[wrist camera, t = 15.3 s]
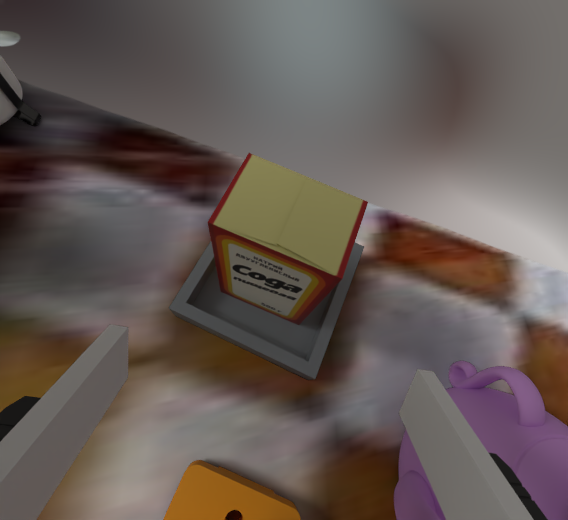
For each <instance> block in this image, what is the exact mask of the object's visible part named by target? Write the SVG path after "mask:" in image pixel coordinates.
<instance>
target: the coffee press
mask: <svg viewBox="0 0 568 520" xmlns="http://www.w3.org/2000/svg"><path fill="white" fill-rule="evenodd" d="M22 96H23V93H22V87H21V85H20V82H19V81H18V79H17V78H16V76H15V75H14V73H13V72H12V70H11V69H10V67H9V66H8V65H7V63H6V62H5V60H4V59H3V57H2V56H1V55H0V125H2V124H3V123H5V122H6V121H8V120H9V119H10V118H11V117H16V118H18V119H20V120H22V121H24V122H26V123H28V124H29V125H32V126H37V125H38V123H39V121H40V120H41V118H42V117H41V115H40V114H39V113H38V112H36V111H35V110H33V109H32V108H31V107H29V106H28V105H26V104H25V103H24V102H23V101H22Z"/></svg>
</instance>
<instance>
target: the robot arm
mask: <svg viewBox="0 0 568 520" xmlns="http://www.w3.org/2000/svg"><path fill="white" fill-rule="evenodd" d="M127 378H128V327H124V326H117V325H111V324H110V325H109V326H108V327H107V328H106V329H105V330H104V331H103V332H102V333H101V335H100V336H99V337H98V338H97V339H96V340H95V341H94V342H93V343H92V344H91V345H90V346H89V347H88V348H87V350H86V351H85V352H84V353H83V354H82V355H81V356H80V357H79V358H78V359H77V360H76V361H75V362H74V363H73V365H72V366H71V367H70V368H69V369H68V370H67V371H66V372H65V373H64V374H63V375H62V376H61V377H60V378H59V380H58V381H57V382H56V383H55V384H54V385H53V386H52V387H51V388H50V389H49V390H48V391H47V392H46V393H45V395H44V396H43V397H42V398H37V397H29V396H24V397H23V398H21V399H19V400H18V401H16V402H14V403H13V404H11V405H9V406H8V407H6V408H5V409H4V410H3V411H2V412H1V413H0V520H36V519H37V518H38V516H39V514H40V513H41V511H42V510H43V508H44V507H45V505H46V504H47V502H48V501H49V499H50V497H51V496H52V494H53V493H54V491H55V490H56V488H57V487H58V485H59V483H60V482H61V480H62V479H63V477H64V476H65V474H66V473H67V471H68V470H69V468H70V466H71V465H72V463H73V462H74V460H75V459H76V457H77V456H78V454H79V452H80V451H81V449H82V448H83V446H84V445H85V443H86V442H87V440H88V439H89V437H90V435H91V434H92V432H93V431H94V429H95V428H96V426H97V425H98V423H99V421H100V420H101V418H102V417H103V415H104V414H105V412H106V411H107V409H108V408H109V406H110V404H111V403H112V401H113V400H114V398H115V397H116V395H117V394H118V392H119V390H120V389H121V387H122V386H123V384H124V383H125V381H126V380H127ZM399 415H400V417H401V419H402V422H403V424H404V426H405V428H406V430H407V433H408V435H409V437H410V439H411V442H412V444H413V446H414V448H415V451H416V453H417V455H418V457H419V460H420V462H421V464H422V466H423V469H424V471H425V473H426V475H427V478H428V480H429V482H430V484H431V487H432V489H433V491H434V493H435V496H436V498H437V500H438V502H439V505H440V507H441V509H442V511H443V513H444V516H445V518H446V520H548V519H547V518H546V517H545V515H544V514H543V512H542V511H541V510H540V508H539V507H538V505H537V504H536V503H535V501H534V500H532V498H531V496H530V494H529V493H528V491H527V490H526V489H525V487H523V486H522V483H521V482H520V480H519V479H518V477H517V476H516V475H515V473H514V472H513V470H512V469H511V468H510V467H509V466H508V465H507V464H506V463H505V462H504V461H503V460H502V459H501V458H500V457H499V456H498V455H497V454H495V453H488V452H487V450H486V449H485V447H484V446H483V444H482V443H481V441H480V440H479V438H478V437H477V435H476V434H475V432H474V431H473V429H472V428H471V427H470V425H469V424H468V422H467V421H466V419H465V418H464V416H463V415H462V413H461V412H460V410H459V409H458V407H457V406H456V404H455V403H454V401H453V400H452V398H451V397H450V396H449V394H448V393H447V391H446V390H445V388H444V387H443V385H442V384H441V382H440V381H439V379H438V378H437V376H436V375H435V373H434V372H433V371H427V370H420V369H417V372H416V374H415V376H414V379H413V381H412V383H411V386H410V388H409V390H408V393H407V395H406V397H405V400H404V402H403V405H402V407H401V409H400V412H399Z"/></svg>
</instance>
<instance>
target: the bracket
mask: <svg viewBox="0 0 568 520" xmlns="http://www.w3.org/2000/svg"><path fill="white" fill-rule="evenodd" d="M232 510H238V511H239V512H240V513H241V514H242V515H241V517H240V518H239V519H238V520H301V518H300V515H299V513H298V511H297V509H296V507H295V505H294V503H293V502H291V501H290V500H288V499H285V498H283V497H281V496H279V495H277V494H274V491H273V490H270V489H268V488H266V487H264V486H262V485H259V484H257V483H255V482H253V481H251V480H248V479H246V478H244V477H242V476H240V475H237V474H235V473H233V472H231V471H229V470H227V469H224V468H222V467H220V466H219V467H218V468H217V467H215V466H213V465H211V464H209V463H206V462H204V461H202V460H196V461H194V462H192V463H191V464H190V465H189V467H188V468H187V470H186V471H185V473H184V475H183V477H182V479H181V481H180V484H179V486H178V488H177V490H176V493H175V495H174V497H173V499H172V501H171V504H170V506H169V508H168V510H167V512H166V515H165V517H164V519H163V520H229V519H228V518H227V516H226V515H227V514H228V513H229V512H230V511H232Z"/></svg>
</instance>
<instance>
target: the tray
mask: <svg viewBox="0 0 568 520" xmlns="http://www.w3.org/2000/svg"><path fill="white" fill-rule="evenodd" d="M363 248H364V246H362V245H359V244H357V243H355V242H354V245H353V248H352V251H351V254H350V257H349V260H348V263H347V266H346V269H345V272H344V275H343V278H342V280H341V281H340V282H339V283H338V284H337V285H336V286H335V287H334V288H333V289H332V290H331V291H330V293H329V294H328V295H327V296H326V297H325V298H324V299H323V300H322V301H321V302H320V303H319V304H318V305H317V306H316V308H315V309H314V310H313V311H312V312H311V313H310V314H309V315H308V316H307V317H306V318H305V319H304V320H303V321H302V323H301V324H300V325H297V324H295V323H292V322H290V321H288V320H285V319H283V318H281V317H278V316H276V315H274V314H271V313H269V312H267V311H264V310H262V309H260V308H257V307H255V306H253V305H250V304H248V303H246V302H243V301H241V300H239V299H236V298H234V297H232V296H229V295H227V294H225V293H222V292H221V290H220V285H219V279H218V274H217V269H216V263H215V258H214V253H213V247H212V242H210V243H209V245H208V246H207V248H206V250H205V251H204V253H203V254H202V256H201V258H200V259H199V261H198V262H197V264H196V265H195V267H194V269H193V270H192V272H191V273H190V275H189V277H188V278H187V280H186V281H185V283H184V284H183V286H182V288H181V289H180V291H179V292H178V294H177V296H176V297H175V299H174V300H173V302H172V303H171V305H170V307H169V309H170V310H171V311H172V313H173V314H174V315H175V316H177V317H179V318H181V319H183V320H185V321H187V322H189V323H191V324H193V325H195V326H197V327H199V328H201V329H204V330H206V331H208V332H210V333H212V334H214V335H216V336H218V337H220V338H222V339H224V340H226V341H228V342H230V343H232V344H234V345H236V346H239V347H241V348H243V349H245V350H247V351H249V352H251V353H253V354H255V355H257V356H259V357H261V358H263V359H265V360H267V361H269V362H272V363H274V364H276V365H278V366H280V367H282V368H284V369H286V370H288V371H290V372H292V373H294V374H296V375H298V376H300V377H302V378H305V379H307V380H312V379H315V378H316V376H317V373H318V370H319V368H320V365H321V362H322V359H323V357H324V354H325V351H326V349H327V346H328V343H329V340H330V338H331V335H332V332H333V330H334V327H335V324H336V321H337V319H338V316H339V313H340V311H341V308H342V305H343V303H344V300H345V297H346V294H347V292H348V289H349V286H350V284H351V281H352V278H353V275H354V273H355V270H356V267H357V265H358V262H359V259H360V257H361V254H362V251H363Z"/></svg>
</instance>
